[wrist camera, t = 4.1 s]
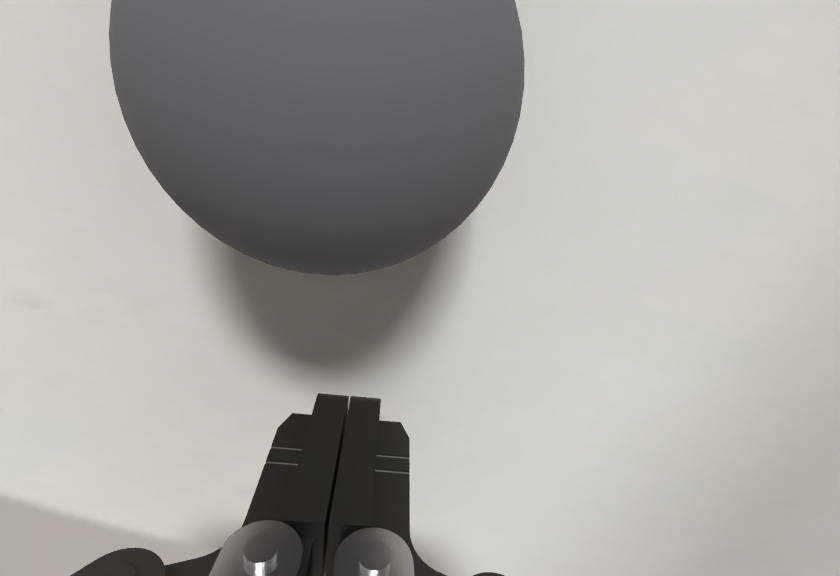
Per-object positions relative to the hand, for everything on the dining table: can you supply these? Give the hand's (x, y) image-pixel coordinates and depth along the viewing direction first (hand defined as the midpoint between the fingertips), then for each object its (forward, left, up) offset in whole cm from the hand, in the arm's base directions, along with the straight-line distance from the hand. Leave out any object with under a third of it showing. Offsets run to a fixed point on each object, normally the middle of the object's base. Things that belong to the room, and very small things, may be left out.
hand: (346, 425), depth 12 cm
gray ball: (+1, -8, +2) cm, 8 cm away
